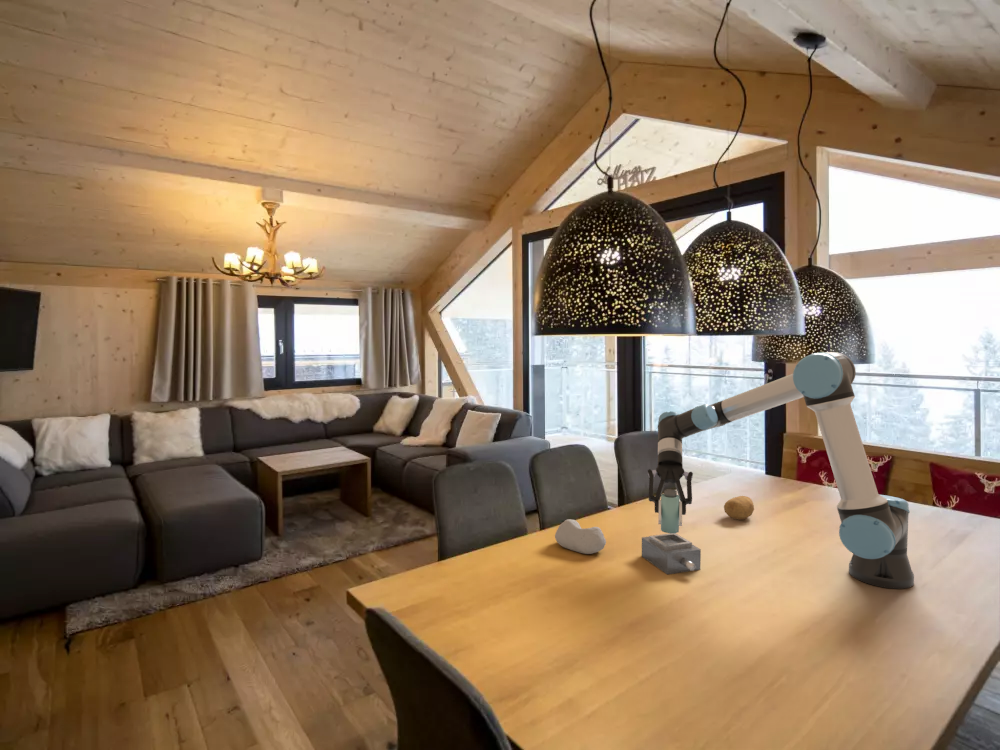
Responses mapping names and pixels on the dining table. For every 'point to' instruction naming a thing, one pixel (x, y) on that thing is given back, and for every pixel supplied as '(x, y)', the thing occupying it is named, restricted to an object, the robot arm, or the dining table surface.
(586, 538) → the decorative stone
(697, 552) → the square hollow holder
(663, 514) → the teal bottle
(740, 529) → the dining table surface
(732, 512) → the potato
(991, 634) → the dining table surface
